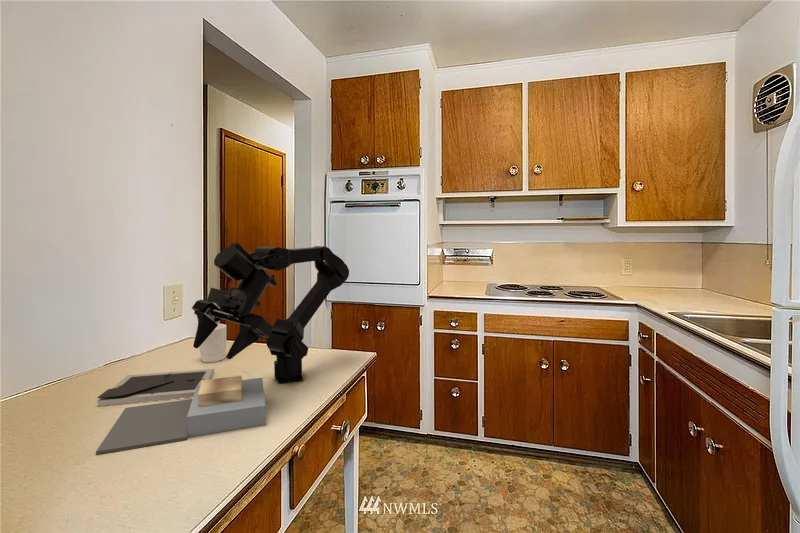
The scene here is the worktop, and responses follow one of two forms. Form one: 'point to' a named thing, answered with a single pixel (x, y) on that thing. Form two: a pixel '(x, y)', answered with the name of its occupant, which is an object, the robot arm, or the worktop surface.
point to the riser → (229, 411)
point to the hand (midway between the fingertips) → (211, 353)
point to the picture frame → (154, 387)
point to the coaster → (220, 391)
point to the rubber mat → (147, 426)
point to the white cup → (214, 345)
